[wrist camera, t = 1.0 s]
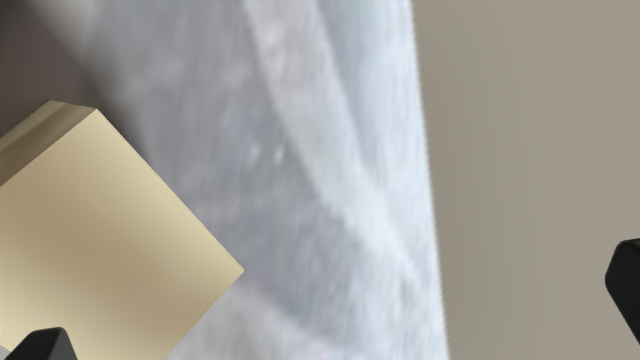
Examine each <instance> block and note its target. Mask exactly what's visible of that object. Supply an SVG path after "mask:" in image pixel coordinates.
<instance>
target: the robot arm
mask: <svg viewBox="0 0 640 360" xmlns="http://www.w3.org/2000/svg"><path fill="white" fill-rule="evenodd" d="M605 285H606V288H607V290H608V292H609V294H610V296H611V297H612V299H613V301H614V302H615V304H616V306H617V307H618V309H619V311H620V312H621V314H622V316H623V318H624V319H625V321H626V323H627V324H628V326H629V328H630V329H631V331H632V333H633V335H634V336H635V338H636V340H637V341H638V343H639V345H640V238H638V239H630V240H624V241H621V242H620V243H619V244H618V245H617V246H616V249H615V251H614V253H613V256H612V259H611V262H610V264H609V267H608V269H607V272H606V274H605ZM4 360H78V359H77V356H76V354H75V351H74V349H73V346H72V344H71V341H70V339H69V336H68V334H67V332H66V330H65V329H64V328H62V327H53V328H46V329H40V330H35V331H32V332H31V333H29V334H28V335H27V336H26V337H25V338H24V339H23V340H22V341H21V342H20V343H19V344H18V345H17V346H16V347H15V348H14V349H13V351H12V352H11V353H10V354H9V355H8V356H7V357H6V358H5V359H4Z"/></svg>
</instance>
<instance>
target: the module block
mask: <svg viewBox="0 0 640 360" xmlns="http://www.w3.org/2000/svg"><path fill="white" fill-rule="evenodd" d="M243 271H244V269H243V268H242V267H241V266H240V265H239V264H238V263H237V262H236V261H235V260H234V258H233V257H232V256H231V255H230V254H229V253H228V252H227V251H226V250H225V249H224V247H223V246H222V245H221V244H220V243H219V242H218V241H217V240H216V239H215V238H214V236H213V235H212V234H211V233H210V232H209V231H208V230H207V229H206V228H205V227H204V226H203V224H202V223H201V222H200V221H199V220H198V219H197V218H196V217H195V216H194V215H193V213H192V212H191V211H190V210H189V209H188V208H187V207H186V206H185V205H184V204H183V202H182V201H181V200H180V199H179V198H178V197H177V196H176V195H175V194H174V193H173V191H172V190H171V189H170V188H169V187H168V186H167V185H166V184H165V183H164V182H163V181H162V179H161V178H160V177H159V176H158V175H157V174H156V173H155V172H154V171H153V170H152V168H151V167H150V166H149V165H148V164H147V163H146V162H145V161H144V160H143V159H142V157H141V156H140V155H139V154H138V153H137V152H136V151H135V150H134V149H133V148H132V146H131V145H130V144H129V143H128V142H127V141H126V140H125V139H124V138H123V137H122V136H121V134H120V133H119V132H118V131H117V130H116V129H115V128H114V127H113V126H112V125H111V123H110V122H109V121H108V120H107V119H106V118H105V117H104V116H103V115H102V114H101V112H100V111H99V110H98V109H96V108H91V107H85V106H80V105H75V104H69V103H64V102H59V101H53V100H49V101H48V102H47V103H45V104H44V105H43V106H41V107H40V108H39V109H37V110H36V111H35V112H34V113H32V114H31V115H30V116H28V117H27V118H26V119H24V120H23V121H22V122H21V123H19V124H18V125H17V126H15V127H14V128H13V129H11V130H10V131H9V132H8V133H6V134H5V135H4V136H2V137H1V138H0V345H1V346H3V347H4V348H6V349H7V350H9V351H10V352H12V351H13V349H14V348H15V347H16V346H17V345H18V344H19V343H20V342H21V341H22V340H23V339H24V338H25V337H26V336H27V335H28V334H29V333H31V332H32V331H35V330H40V329H46V328H53V327H62V328H64V329H65V330H66V332H67V334H68V336H69V339H70V341H71V344H72V346H73V349H74V351H75V354H76V356H77V359H78V360H163V359H164V358H165V356H166V355H167V354H168V353H169V352H170V351H171V350H172V349H173V348H174V347H175V346H176V344H177V343H178V342H179V341H180V340H181V339H182V338H183V337H184V336H185V335H186V334H187V332H188V331H189V330H190V329H191V328H192V327H193V326H194V325H195V324H196V323H197V322H198V320H199V319H200V318H201V317H202V316H203V315H204V314H205V313H206V312H207V311H208V310H209V308H210V307H211V306H212V305H213V304H214V303H215V302H216V301H217V300H218V299H219V298H220V297H221V295H222V294H223V293H224V292H225V291H226V290H227V289H228V288H229V287H230V286H231V285H232V283H233V282H234V281H235V280H236V279H237V278H238V277H239V276H240V275H241V274H242V273H243Z"/></svg>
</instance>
